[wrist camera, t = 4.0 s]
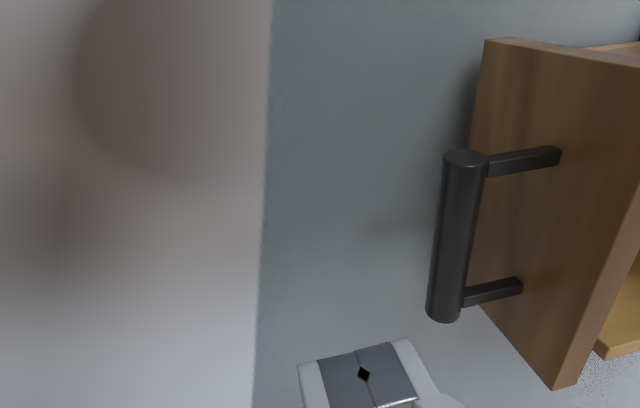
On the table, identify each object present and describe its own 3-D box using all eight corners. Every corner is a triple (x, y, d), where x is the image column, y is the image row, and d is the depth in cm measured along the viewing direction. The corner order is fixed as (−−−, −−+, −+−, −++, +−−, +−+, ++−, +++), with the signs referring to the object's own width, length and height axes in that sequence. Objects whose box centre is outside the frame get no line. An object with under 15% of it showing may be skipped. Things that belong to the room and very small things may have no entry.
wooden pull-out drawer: (381, 285, 21) (457, 420, 14) (388, 49, 15) (529, 97, 8) (639, 228, 24) (799, 317, 18) (737, 13, 18) (1044, 26, 11)
